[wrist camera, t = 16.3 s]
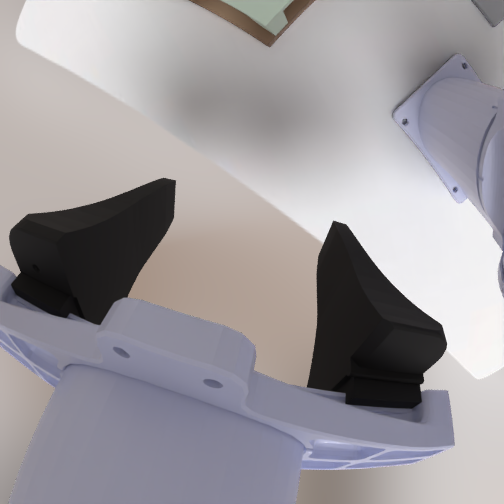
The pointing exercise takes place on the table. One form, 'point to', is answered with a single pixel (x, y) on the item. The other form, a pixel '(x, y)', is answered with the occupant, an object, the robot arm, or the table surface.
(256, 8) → the cover
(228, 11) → the board
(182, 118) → the table surface
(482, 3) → the mat
